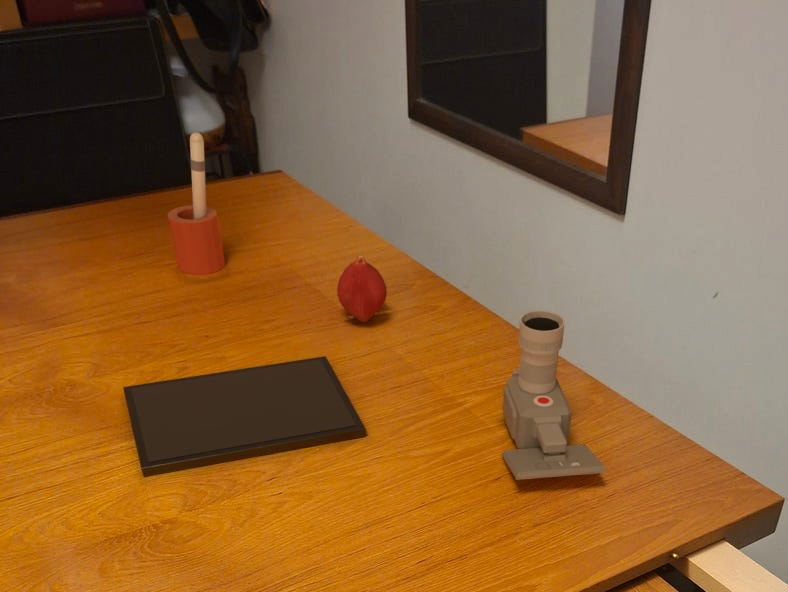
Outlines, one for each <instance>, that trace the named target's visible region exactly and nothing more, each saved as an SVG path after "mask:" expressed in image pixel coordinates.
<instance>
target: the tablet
mask: <svg viewBox="0 0 788 592" xmlns="http://www.w3.org/2000/svg"><path fill="white" fill-rule="evenodd" d="M122 390H123V395H124V398H125V403H126V407H127V412H128V416H129V420H130V425H131V430H132V434H133V438H134V443H135V447H136V451H137V456H138V461H139V465H140V469H141V473H142V476H143V477H144V478H146V477H150V476H156V475H161V474H167V473H172V472H178V471H183V470H188V469H189V470H190V469H193V468H194V469H195V468H199V467H206V466H211V465H217V464H222V463H228V462H233V461H238V460H244V459H245V460H246V459H249V458H255V457H260V456H265V455H273V454H278V453H284V452H288V451H294V450H299V449H305V448H311V447H316V446H317V447H318V446H321V445H328V444H332V443H338V442H339V443H340V442H343V441H349V440H355V439H360V438H366V437H367V428H366V427H365V425H364V422H363V421H362V419H361V418H360V415H359V413H358V412H357V410H356V408H355V406H354V404H353V403H352V401H351V399H350V398H349V397H350V396H348V394H347V392H346V390H345V388H344V387H343V385H342V382H341V381H340V379H339V377H338V376H337V374H336V372H335V371H334V369H333V367H332V365H331V363H330V362H329V359H328V358H327V356H326V355H324V356H323V355H322V356H317V357H310V358H304V359H298V360H290V361H285V362H278V363H277V362H276V363H272V364H265V365H259V366H251V367H245V368H238V369H232V370H225V371H219V372H214V373H213V372H212V373H206V374H199V375H193V376H186V377H181V378H180V377H179V378H171V379H166V380H160V381H153V382H146V383H140V384H134V385H133V384H132V385H127V386H123V387H122Z"/></svg>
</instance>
